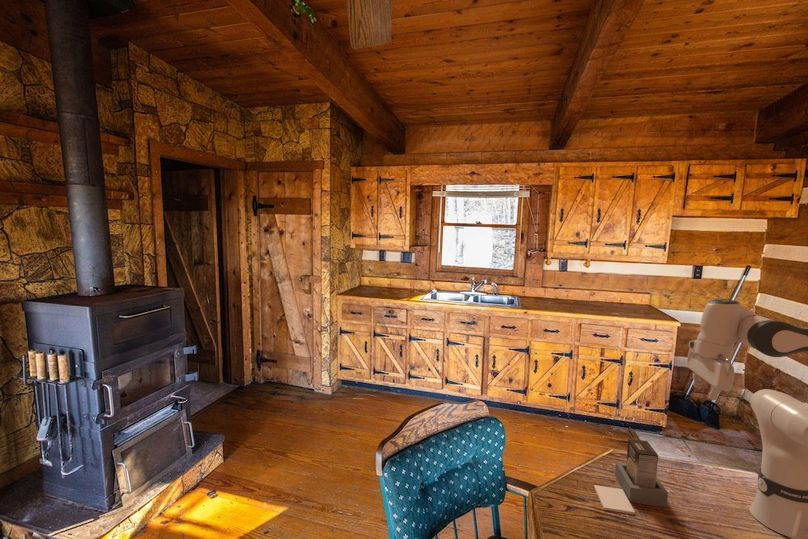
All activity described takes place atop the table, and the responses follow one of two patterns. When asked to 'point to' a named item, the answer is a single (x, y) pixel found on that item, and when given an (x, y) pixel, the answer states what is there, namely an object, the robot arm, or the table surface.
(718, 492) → the table surface
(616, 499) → the mat
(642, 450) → the coffee box
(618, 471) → the rectangular frame
